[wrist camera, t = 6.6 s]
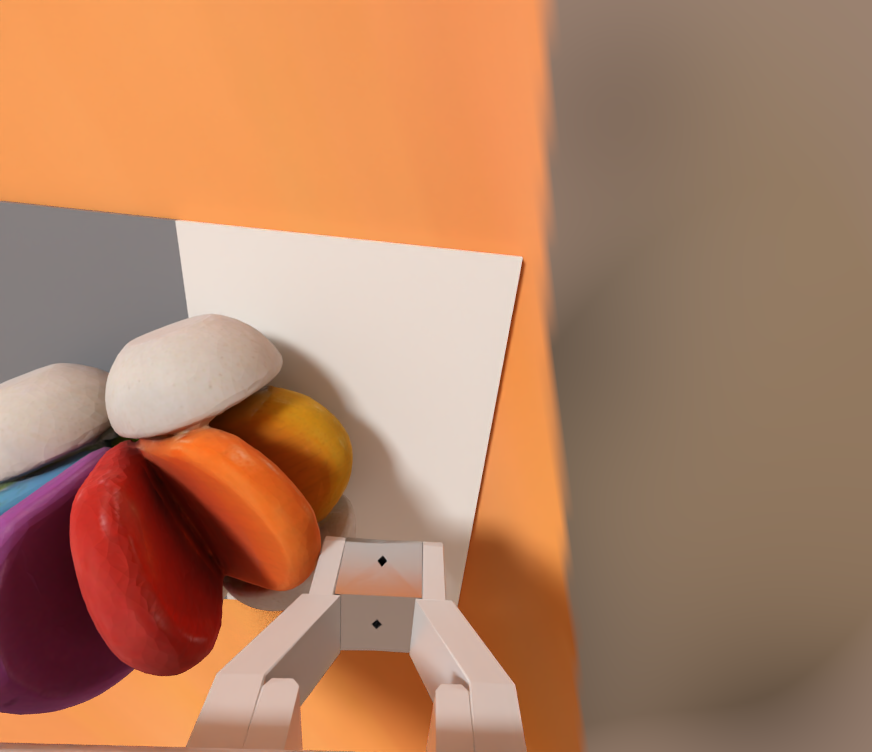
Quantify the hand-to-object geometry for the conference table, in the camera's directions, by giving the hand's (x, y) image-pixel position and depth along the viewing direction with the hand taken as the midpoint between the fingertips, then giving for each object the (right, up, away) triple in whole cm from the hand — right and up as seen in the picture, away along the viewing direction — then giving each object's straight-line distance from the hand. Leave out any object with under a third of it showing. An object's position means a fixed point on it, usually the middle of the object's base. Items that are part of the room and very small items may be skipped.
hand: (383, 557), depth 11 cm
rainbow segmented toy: (-6, +2, +3) cm, 7 cm away
